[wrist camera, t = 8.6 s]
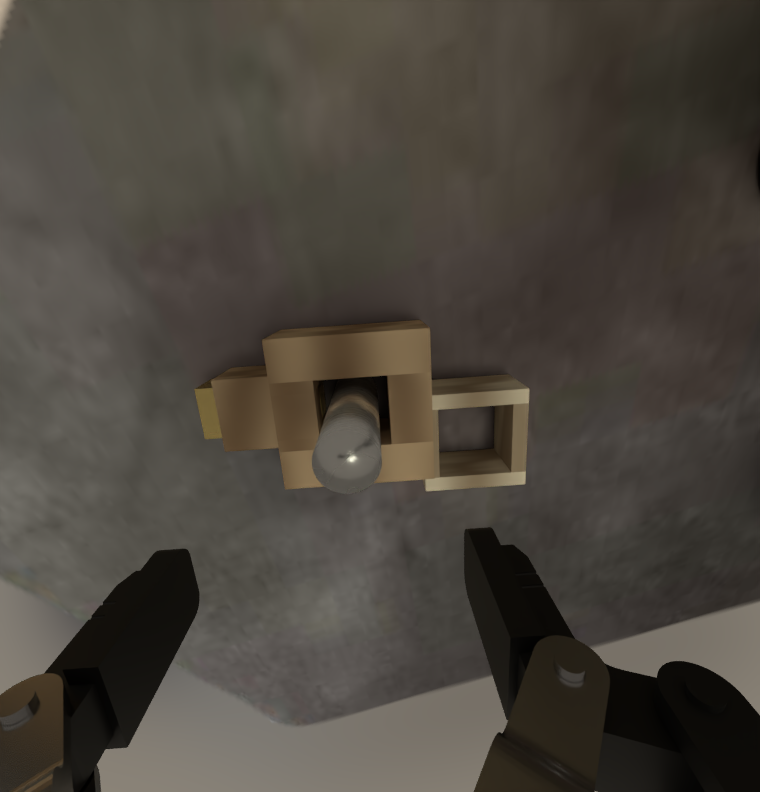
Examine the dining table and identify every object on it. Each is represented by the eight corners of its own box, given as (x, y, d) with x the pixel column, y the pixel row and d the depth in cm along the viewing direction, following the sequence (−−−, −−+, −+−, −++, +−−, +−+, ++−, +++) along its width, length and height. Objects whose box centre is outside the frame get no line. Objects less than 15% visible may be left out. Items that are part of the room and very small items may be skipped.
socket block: (419, 319, 28) (429, 328, 23) (424, 447, 30) (434, 478, 26) (225, 333, 28) (194, 344, 23) (248, 460, 30) (225, 493, 26)
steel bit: (375, 369, 29) (379, 427, 17) (378, 409, 30) (384, 491, 18) (333, 372, 29) (307, 432, 17) (337, 413, 30) (315, 496, 18)
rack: (508, 374, 29) (529, 388, 25) (506, 459, 31) (524, 484, 27) (415, 380, 29) (422, 396, 25) (419, 465, 31) (425, 491, 27)
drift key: (322, 371, 28) (317, 380, 26) (327, 417, 29) (322, 430, 27) (211, 379, 28) (194, 389, 26) (220, 424, 29) (205, 439, 27)
